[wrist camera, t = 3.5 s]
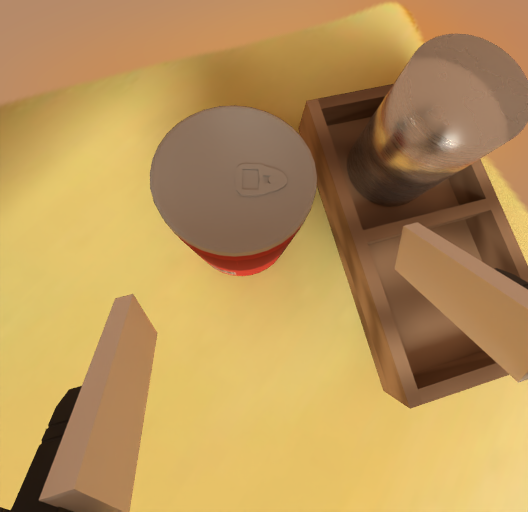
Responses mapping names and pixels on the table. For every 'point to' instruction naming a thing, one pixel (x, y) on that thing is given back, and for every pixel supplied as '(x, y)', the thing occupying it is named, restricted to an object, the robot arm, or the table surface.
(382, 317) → the walnut crate
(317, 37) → the table surface
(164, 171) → the canned food
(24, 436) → the table surface
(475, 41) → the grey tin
